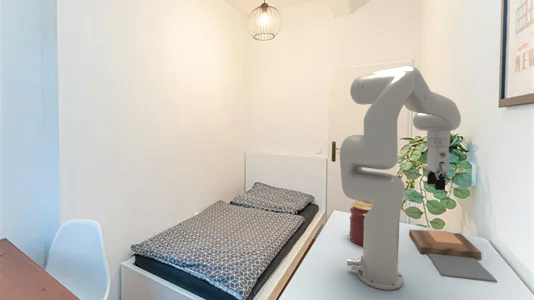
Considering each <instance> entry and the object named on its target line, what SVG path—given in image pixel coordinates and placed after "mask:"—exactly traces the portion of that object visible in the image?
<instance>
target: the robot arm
mask: <svg viewBox="0 0 534 300" xmlns="http://www.w3.org/2000/svg"><path fill="white" fill-rule="evenodd" d="M349 92H350V96H351V99H352V100H353V102H354V103H355V104H358V105H370V106H369V108H368V109H367V111H366V112H365V115H364V117H363V134H354V135H349V136H347V137H345V139H344V140H343V141H342V143H341V145H340V148H339V149H340V150H339V166H340V176H341V177H340V178H341V179H340V180H341V187H342V192H343V194H344V196H346V197H347V198H349V199H351V200H354V201H357V200H358V201H362V202H366V203H369V204H372V208H371V209H370V210H369V211H368V212H367V214H366V215H365V217H364V241H363V246H362V248H363V249H362V250H363V251H362V255H361V256H360V258H358V259H352V258H347V259H346V266H350V267H351V270H354V271H355V270H357V271H356V274H357V276H358V278H359V279H360V281H362V282H363V283H365V284H366V285H368V286H370V287H372V288H375V289H379V290H387V291H392V290H397V289H399V288H401V287H402V286H403V285H404V277H403V274H402V273H401V272H400V271H399V245H400V243H399V242H400V241H399V240H400V221H401V217H400V216H401V210H402V206H403V205H402V204H403V200H404V197H405V192H406V191H405V190H406V187H405V183H404V181H403V180H402V179H401V178H400V177H398V176H396V175H394V174H391V173H386V172H380V171H381V170H382V171H384V170H385V171H386V170H390V169H393V168H394V167H395V166H396V165H397V162H398V156H399V155H398V154H399V151H398V146H399V145H398V119H399V115H400V112H401V111H402V108H403V107H405V108H406V109H407V110H408V111H411V112H413V113H415V115H414V116H413V118H412V123H413V124H412V125H413V126H414V128H415V129H417V130H418V131H422V132H423V131H424V132H426V147H427V149H428V150H427V157H426V158H427V159H426V168H427V179H426V180H427V182H426V184H427V185H434V190H435V191H445V190H446V180H447V174H449V172H450V150H449V148H450V145H451V144H450V143H451V131H453V132H454V131H455V130H456V129H458V128H459V127H460V125H461V122H462V121H461V120H462V117H461V114H460V110H459V108H458V106H457V104H456V103H455V101H453V100H452V99H450V97H446V96H444V95H442V94H439V93H437V92H434V91H431V89H430V87H429V85H428V83H427V82H426V80H425V77H424V76H423V75H422V73H421V71H420V70H419V69H418V68H417V67H415V66H411V65H408V66H407V65H405V66H399V67H393V68H387V69H386V68H385V69H381V70H378V71H377V70H376V71H374V72H371V73H368V74H364V75H360V76H357V78H355V79H354V80H353V81H352V83H351V85H350V90H349ZM363 168H365V169H372V170H363ZM373 169H374V170H380V171H373Z"/></svg>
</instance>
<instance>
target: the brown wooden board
mask: <svg viewBox="0 0 534 300" xmlns="http://www.w3.org/2000/svg"><path fill="white" fill-rule="evenodd" d="M451 233H452V234H454V235H455V236H456V237H457V238H458V239H459V240H460V241H461V242H462V243H463V250H462V249H452V248H441V247H436V246H435V245H434V244H433V242H432V241H431V240H430V239H429V237H428V236H427V230H421V229H409V233H408V236H409V237H410V240H411V241H412V242H413V244H414V246H415V247H416V249H417V251H418V252H419V253H420V254H421V255H427V253H429V254H439V255H449V256H459V257H469V258H475V259H476V260H477V261H478V260H480V261H481V260H482V251H481V250H479V249H478V248H477V247H476V246H475V245H474V244H473V243H472V242H471V241H470V240H468V239H467V238H466V237H465V236H464V235H463V234H462V233H460V232H459V233H457V232H451Z"/></svg>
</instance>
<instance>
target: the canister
mask: <svg viewBox="0 0 534 300" xmlns="http://www.w3.org/2000/svg"><path fill="white" fill-rule="evenodd" d="M351 205H352V207H350V209H349V212H350V217H349V221H350V222H349V239H350V240H351V242H353V243H354V244H356V245H359V246H362V247H363V241H364V217H365V215H366V214H367V212H368V211H369V210H370V209H371V208H372V204H369V203H366V202H362V201H358V200H354V201H353V202H352V204H351Z"/></svg>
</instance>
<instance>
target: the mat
mask: <svg viewBox="0 0 534 300" xmlns="http://www.w3.org/2000/svg"><path fill="white" fill-rule="evenodd" d="M426 255H427V257H428V258H429V259H430V261H431V263H432V264H433V265H434V267H435V268H436V269H437V271H438V273H439V274H440V276H441V277H449V278H456V279H457V278H458V279H459V278H460V279H464V280H467V279H468V280H472V281H473V280H474V281H475V280H476V281H483V282H490V281H494V282H493V283H497V282H498V280H497V279H496V278H495V277H494V276H493V274H491V273H490V272H489V271H488V270H487V269H486V268H485V267H484V266H483V264H481V263H480V262H479V261H478V259H475V258H469V257H459V256H449V255H439V254H429V253H427V254H426Z"/></svg>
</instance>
